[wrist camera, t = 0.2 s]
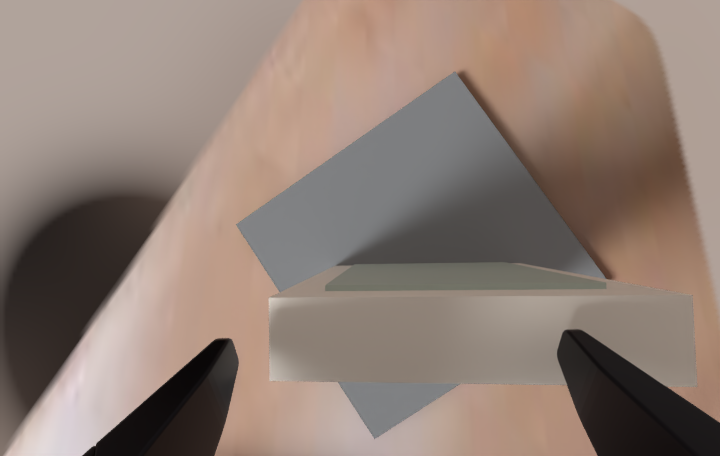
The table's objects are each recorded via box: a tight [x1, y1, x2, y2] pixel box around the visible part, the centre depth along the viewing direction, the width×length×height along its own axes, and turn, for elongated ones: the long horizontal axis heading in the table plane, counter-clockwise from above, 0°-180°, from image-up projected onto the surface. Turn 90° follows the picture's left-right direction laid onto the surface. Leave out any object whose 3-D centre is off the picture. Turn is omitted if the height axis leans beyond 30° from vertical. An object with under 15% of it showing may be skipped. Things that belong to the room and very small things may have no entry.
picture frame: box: [269, 262, 697, 387], centre depth 17 cm, size 3×12×13 cm, turn 91°
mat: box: [236, 72, 606, 439], centre depth 24 cm, size 17×18×1 cm
